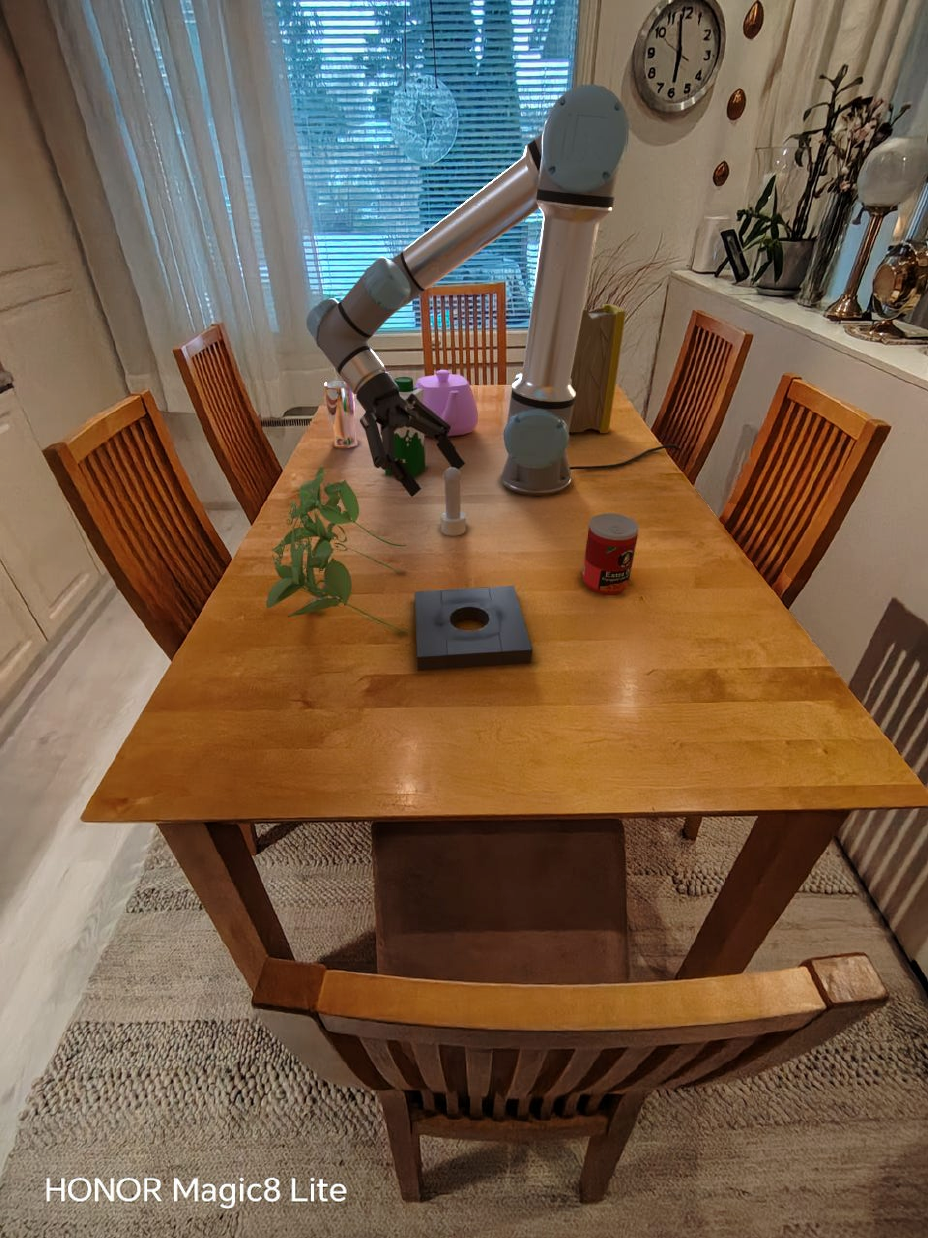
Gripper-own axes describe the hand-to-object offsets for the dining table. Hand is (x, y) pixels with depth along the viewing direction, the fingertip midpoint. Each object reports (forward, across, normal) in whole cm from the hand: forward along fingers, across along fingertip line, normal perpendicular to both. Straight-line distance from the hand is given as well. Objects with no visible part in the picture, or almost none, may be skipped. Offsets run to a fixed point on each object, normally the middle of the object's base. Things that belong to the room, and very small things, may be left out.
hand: (439, 480), depth 110 cm
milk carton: (-9, -16, -23) cm, 30 cm away
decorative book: (+4, -62, -10) cm, 63 cm away
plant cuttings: (+10, +30, -4) cm, 31 cm away
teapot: (-15, -43, -29) cm, 54 cm away
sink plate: (+23, +24, +10) cm, 35 cm away
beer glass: (-26, -21, -40) cm, 52 cm away
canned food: (+31, 0, +18) cm, 36 cm away
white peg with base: (+9, 0, -5) cm, 10 cm away
